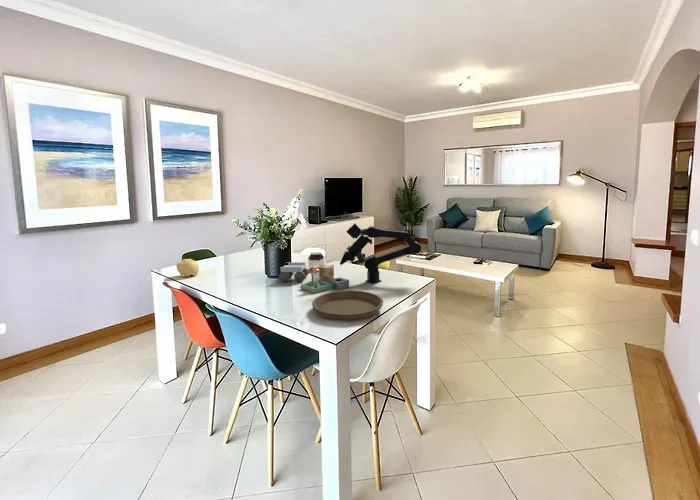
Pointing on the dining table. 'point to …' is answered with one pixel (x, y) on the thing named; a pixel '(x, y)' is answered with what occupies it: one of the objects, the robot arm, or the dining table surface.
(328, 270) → the block
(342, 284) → the holder
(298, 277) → the trolley
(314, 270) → the pin
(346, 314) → the plant saucer
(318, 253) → the spread jar
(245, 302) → the dining table surface
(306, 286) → the tray
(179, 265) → the sculpture
